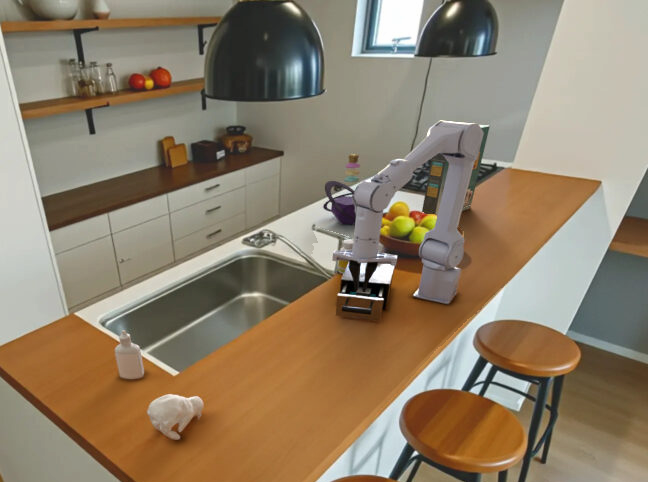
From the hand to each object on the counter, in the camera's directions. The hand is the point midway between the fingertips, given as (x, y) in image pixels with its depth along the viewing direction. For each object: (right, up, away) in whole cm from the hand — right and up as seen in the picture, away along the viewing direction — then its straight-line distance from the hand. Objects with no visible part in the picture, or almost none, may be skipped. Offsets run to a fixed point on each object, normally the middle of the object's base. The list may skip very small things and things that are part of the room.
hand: (360, 289), depth 118 cm
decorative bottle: (+17, +38, +71) cm, 82 cm away
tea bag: (+12, +9, +29) cm, 33 cm away
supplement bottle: (+6, +11, +32) cm, 35 cm away
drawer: (+3, -4, +8) cm, 10 cm away
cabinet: (+7, +1, +17) cm, 18 cm away
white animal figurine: (-43, -31, -23) cm, 58 cm away
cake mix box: (+57, +43, +73) cm, 102 cm away
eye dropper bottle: (-55, -21, -7) cm, 60 cm away
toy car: (+3, -3, +9) cm, 10 cm away
